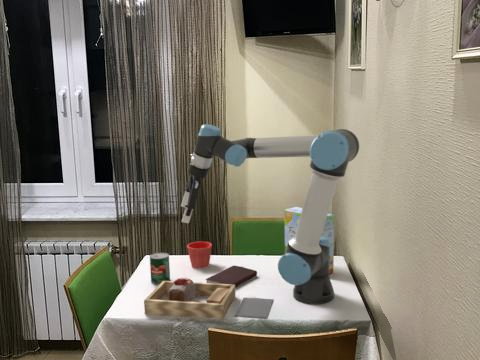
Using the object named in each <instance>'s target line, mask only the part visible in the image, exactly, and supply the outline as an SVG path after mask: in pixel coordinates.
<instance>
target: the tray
mask: <svg viewBox="0 0 480 360" xmlns="http://www.w3.org/2000/svg"><path fill="white" fill-rule="evenodd" d="M174 281H175V280H170V281H162V282H161V283H160V284H157V286H156V287H155V288H154V290H152V292H150V294H148V296H147V297H146V298H145V299H143V305H144V307H143V308H144V314H145V315H155V316H156V315H157V316H169V317H170V316H173V317H187V318H201V319H216V320H224V319H225V318H226V316H227V313H228V312H229V310H230V308H231V307H232V305H233V303H234V301H235V299H236V288H235V285H233V284H215V283H207V282H197V281H196V282H194V281H193V283H195V289H196V290H195V296H194V297H203V298H204V297H205V298H209V297H210V296H211V295H212V294H213V292H214V291H215V290H216V289H217V288H227V289H229V290H228V292H227V294H226V295H225V297H224V299H223V300H222V302H221V304H218V303H207V302H201V301H200V302H198V301H192V302H186V301H170V300H168V299H163V298H164V297H165V296H166V295H168V290H169V289H170V288H171V287H172V286H173V283H174ZM231 304H232V305H231Z"/></svg>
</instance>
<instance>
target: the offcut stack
mask: <svg viewBox="0 0 480 360" xmlns="http://www.w3.org/2000/svg"><path fill="white" fill-rule="evenodd" d="M228 290H229V289H227V288H217V289H216V290H215V291H214V292H213V294H212V295H211V296H210V297H207V299H206V303H218V304H221V302H222V300H223V299H224V297H225V295H226V294H227V292H228Z"/></svg>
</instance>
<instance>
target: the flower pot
mask: <svg viewBox="0 0 480 360" xmlns="http://www.w3.org/2000/svg"><path fill="white" fill-rule="evenodd" d="M212 246H213V245H212V243H211V242H209V241H194V242H190V243H188V244H187V246H186V248H187V252H188V256H189V261H190V264H191V267H192V268H194V269H205V268H208V267H209V266H210V261H211V254H212Z"/></svg>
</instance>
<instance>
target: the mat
mask: <svg viewBox="0 0 480 360" xmlns="http://www.w3.org/2000/svg"><path fill="white" fill-rule="evenodd" d="M273 301H274V298H273V299H272V298H260V297H259V298H257V297H243V298H242V300H241V302H240V304H239V306H238V308H237V309H236V312H235V313H234V317H236V318H237V317H240V318H251V319H252V318H253V319H265V318H266V319H267V318H268V316H269V313H270V310H271V307H272V304H273ZM268 312H269V313H268Z"/></svg>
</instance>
